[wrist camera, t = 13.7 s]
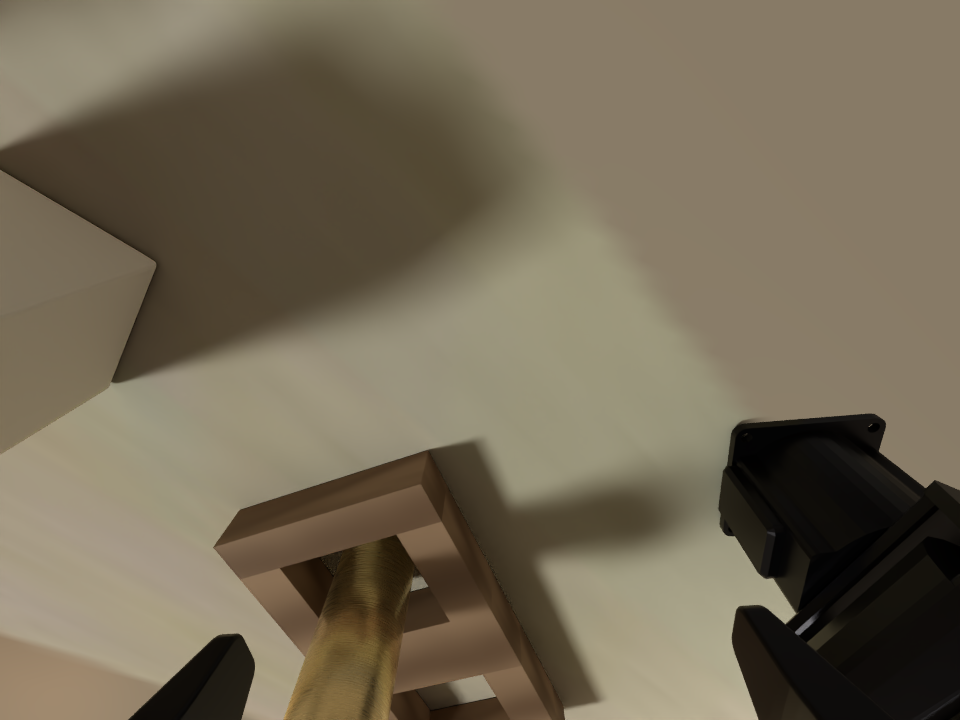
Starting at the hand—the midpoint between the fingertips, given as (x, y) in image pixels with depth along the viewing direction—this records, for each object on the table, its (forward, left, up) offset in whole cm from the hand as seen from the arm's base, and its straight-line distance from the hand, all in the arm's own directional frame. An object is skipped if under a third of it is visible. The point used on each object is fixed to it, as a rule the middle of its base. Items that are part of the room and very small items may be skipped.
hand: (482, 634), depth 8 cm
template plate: (+6, +17, -13) cm, 22 cm away
